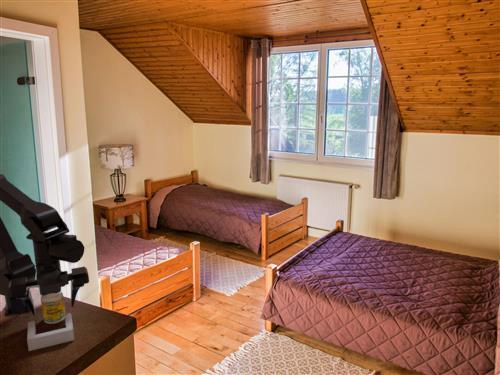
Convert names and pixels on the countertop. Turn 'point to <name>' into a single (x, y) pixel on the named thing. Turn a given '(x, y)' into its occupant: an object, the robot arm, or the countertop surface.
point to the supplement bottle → (53, 308)
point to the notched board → (49, 335)
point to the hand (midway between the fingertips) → (53, 310)
